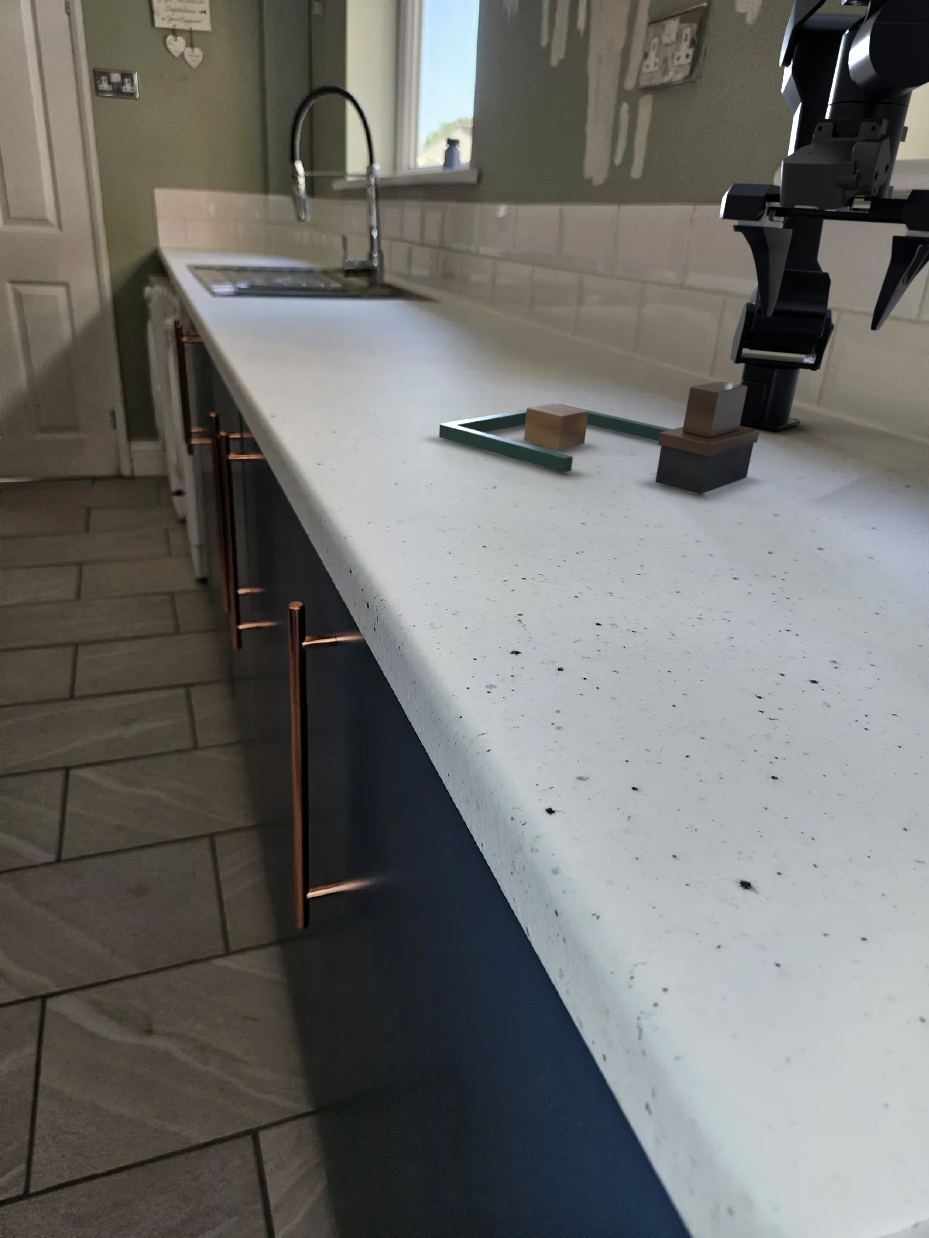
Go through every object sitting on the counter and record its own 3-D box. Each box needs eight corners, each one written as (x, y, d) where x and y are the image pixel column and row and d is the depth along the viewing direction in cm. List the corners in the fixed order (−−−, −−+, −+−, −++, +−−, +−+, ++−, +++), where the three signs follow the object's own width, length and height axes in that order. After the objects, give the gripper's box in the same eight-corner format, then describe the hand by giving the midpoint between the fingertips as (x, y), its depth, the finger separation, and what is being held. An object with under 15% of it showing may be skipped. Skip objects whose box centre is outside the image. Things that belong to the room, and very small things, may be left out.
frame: (558, 415, 91) (559, 403, 90) (677, 443, 82) (679, 430, 82) (438, 437, 78) (439, 424, 78) (564, 473, 70) (565, 458, 69)
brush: (702, 466, 75) (718, 377, 72) (750, 478, 72) (769, 386, 69) (651, 482, 69) (666, 386, 66) (701, 495, 66) (719, 396, 63)
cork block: (549, 435, 82) (553, 403, 81) (584, 444, 79) (588, 411, 78) (523, 440, 79) (526, 407, 78) (558, 450, 77) (562, 416, 75)
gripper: (705, 96, 66) (671, 312, 73) (971, 88, 55) (903, 344, 62) (768, 115, 74) (732, 309, 80) (1013, 111, 63) (948, 336, 69)
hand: (818, 323), depth 73 cm, fingers open, 9 cm apart
